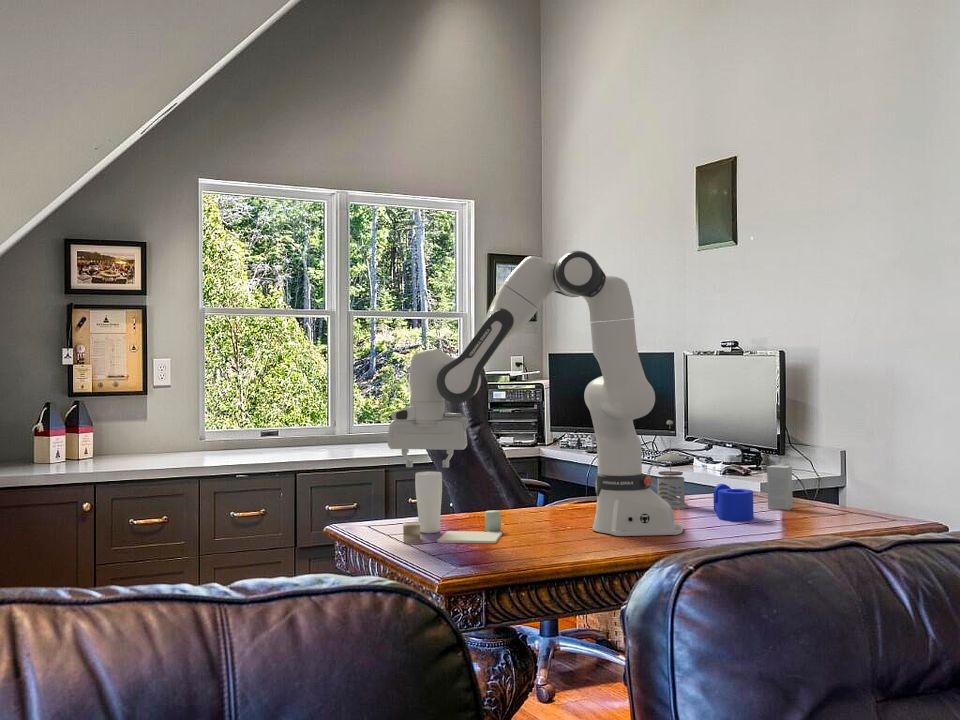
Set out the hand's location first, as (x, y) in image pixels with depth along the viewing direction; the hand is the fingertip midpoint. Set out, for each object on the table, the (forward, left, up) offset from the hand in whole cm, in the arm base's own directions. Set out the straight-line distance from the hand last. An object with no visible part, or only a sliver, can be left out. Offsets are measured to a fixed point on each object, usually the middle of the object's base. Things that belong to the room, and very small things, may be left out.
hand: (427, 467), depth 243 cm
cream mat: (-12, +8, -16) cm, 22 cm away
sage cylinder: (-16, -2, -17) cm, 23 cm away
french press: (-61, -47, -17) cm, 79 cm away
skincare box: (-92, -43, -17) cm, 103 cm away
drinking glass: (0, 0, -17) cm, 17 cm away
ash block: (+2, +11, -17) cm, 20 cm away
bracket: (-77, -30, -17) cm, 85 cm away
